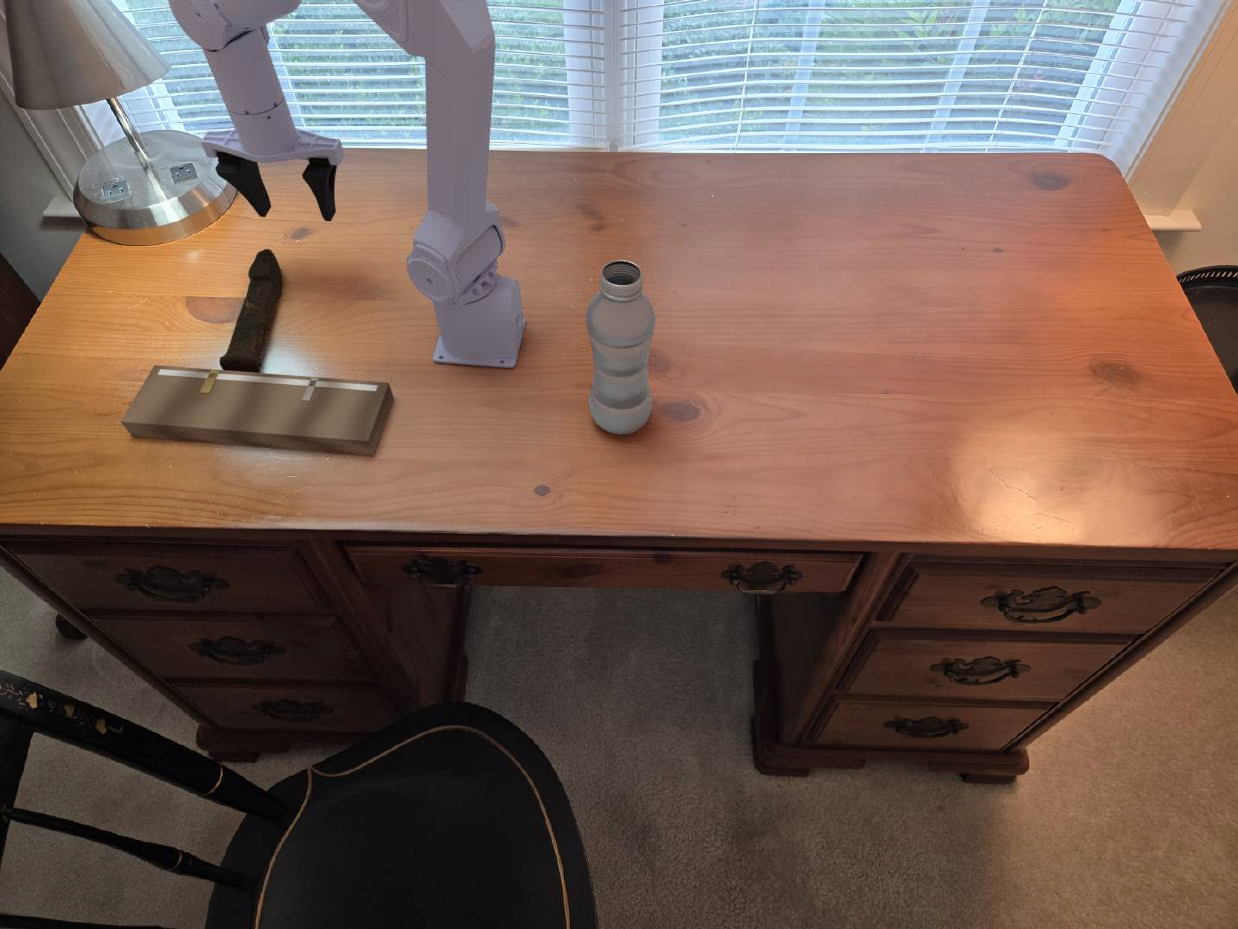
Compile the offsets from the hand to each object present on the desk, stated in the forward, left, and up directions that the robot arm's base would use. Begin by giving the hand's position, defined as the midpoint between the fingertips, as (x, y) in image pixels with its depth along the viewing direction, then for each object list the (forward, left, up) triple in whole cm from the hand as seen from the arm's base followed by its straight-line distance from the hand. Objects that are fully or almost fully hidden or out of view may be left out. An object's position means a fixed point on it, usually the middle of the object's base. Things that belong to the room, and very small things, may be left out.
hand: (298, 213), depth 91 cm
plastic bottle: (-39, +19, -10) cm, 44 cm away
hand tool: (+5, +8, -10) cm, 14 cm away
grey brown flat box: (-1, +23, -9) cm, 24 cm away
